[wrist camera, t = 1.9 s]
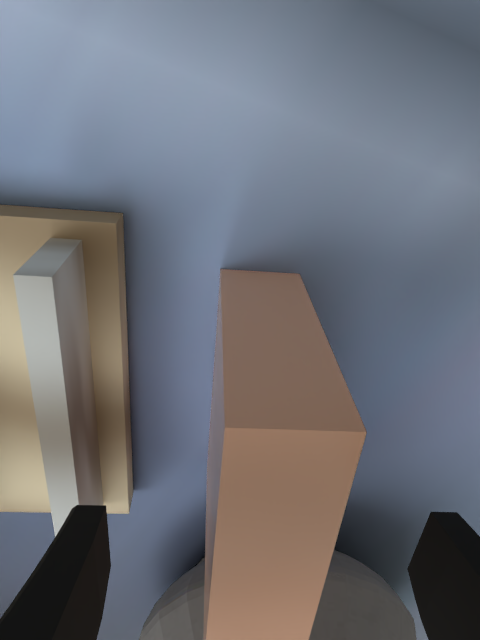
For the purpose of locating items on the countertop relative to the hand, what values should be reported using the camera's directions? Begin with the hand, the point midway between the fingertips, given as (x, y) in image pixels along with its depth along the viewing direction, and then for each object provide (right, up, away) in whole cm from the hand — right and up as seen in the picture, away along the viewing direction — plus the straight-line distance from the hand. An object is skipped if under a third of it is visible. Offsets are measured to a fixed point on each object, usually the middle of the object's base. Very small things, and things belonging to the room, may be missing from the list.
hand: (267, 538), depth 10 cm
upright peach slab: (0, +3, +5) cm, 6 cm away
